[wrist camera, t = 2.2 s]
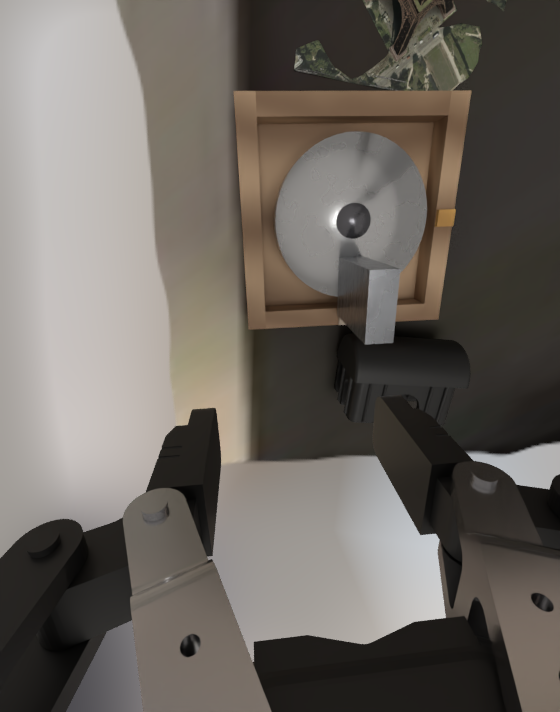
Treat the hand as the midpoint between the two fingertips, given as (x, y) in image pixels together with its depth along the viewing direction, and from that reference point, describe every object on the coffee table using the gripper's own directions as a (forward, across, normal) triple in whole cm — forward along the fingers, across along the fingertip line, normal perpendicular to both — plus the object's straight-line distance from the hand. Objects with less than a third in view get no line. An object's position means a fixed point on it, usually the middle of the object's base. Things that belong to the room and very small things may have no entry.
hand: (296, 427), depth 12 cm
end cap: (+22, -12, +7) cm, 26 cm away
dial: (+19, -7, -5) cm, 21 cm away
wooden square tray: (+21, -6, -6) cm, 23 cm away
